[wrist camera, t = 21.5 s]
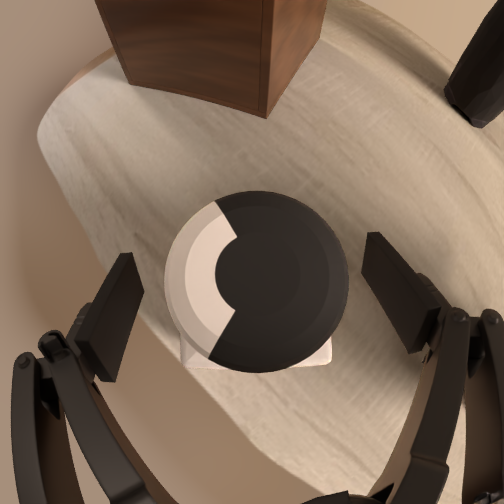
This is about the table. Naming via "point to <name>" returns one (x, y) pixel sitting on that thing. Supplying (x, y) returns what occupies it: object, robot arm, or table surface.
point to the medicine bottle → (256, 285)
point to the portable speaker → (481, 72)
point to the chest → (214, 46)
